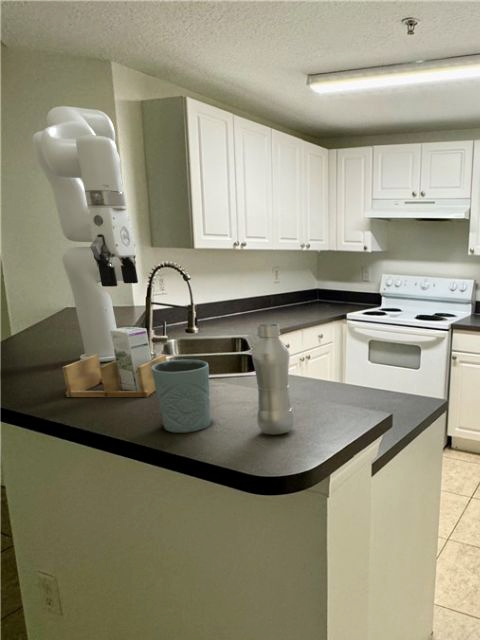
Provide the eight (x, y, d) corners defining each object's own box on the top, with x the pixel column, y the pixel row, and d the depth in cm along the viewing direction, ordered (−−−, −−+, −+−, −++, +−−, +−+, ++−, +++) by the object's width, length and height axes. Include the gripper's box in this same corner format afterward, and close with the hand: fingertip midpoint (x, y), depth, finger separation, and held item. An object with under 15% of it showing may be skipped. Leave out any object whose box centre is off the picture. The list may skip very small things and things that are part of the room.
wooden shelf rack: (98, 381, 138) (93, 354, 135) (171, 381, 138) (167, 354, 135) (66, 397, 125) (60, 367, 122) (147, 397, 125) (142, 367, 122)
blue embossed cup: (185, 415, 112) (177, 357, 108) (226, 420, 109) (219, 361, 105) (148, 430, 103) (138, 368, 99) (192, 437, 100) (183, 373, 96)
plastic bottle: (261, 427, 105) (251, 322, 98) (296, 426, 105) (289, 322, 98) (255, 439, 99) (244, 328, 92) (293, 438, 99) (285, 327, 92)
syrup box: (157, 387, 133) (147, 327, 127) (137, 393, 128) (126, 331, 122) (140, 384, 135) (130, 325, 130) (120, 390, 130) (108, 329, 125)
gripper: (103, 198, 108) (118, 287, 114) (141, 204, 125) (153, 282, 130) (65, 199, 108) (83, 287, 114) (109, 204, 125) (122, 282, 130)
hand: (120, 284), depth 122 cm, fingers open, 9 cm apart
